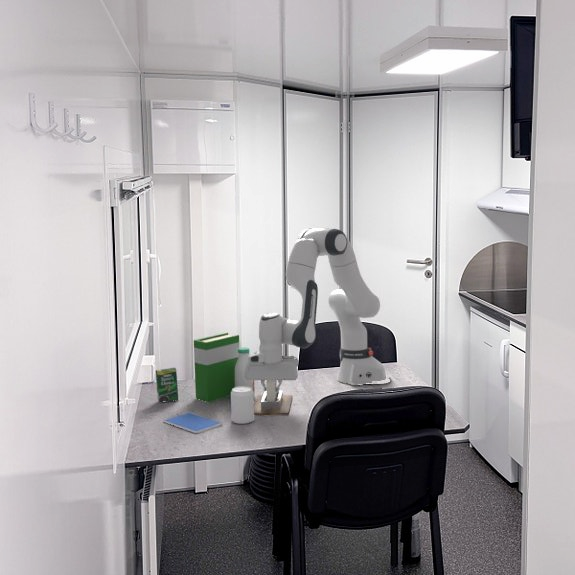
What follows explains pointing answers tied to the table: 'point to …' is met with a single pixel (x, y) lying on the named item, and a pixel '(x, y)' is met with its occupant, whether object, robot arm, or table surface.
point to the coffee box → (167, 384)
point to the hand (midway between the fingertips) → (271, 391)
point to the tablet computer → (193, 423)
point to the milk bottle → (242, 369)
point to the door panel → (271, 390)
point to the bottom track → (272, 402)
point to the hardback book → (215, 366)
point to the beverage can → (242, 405)
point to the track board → (283, 410)
